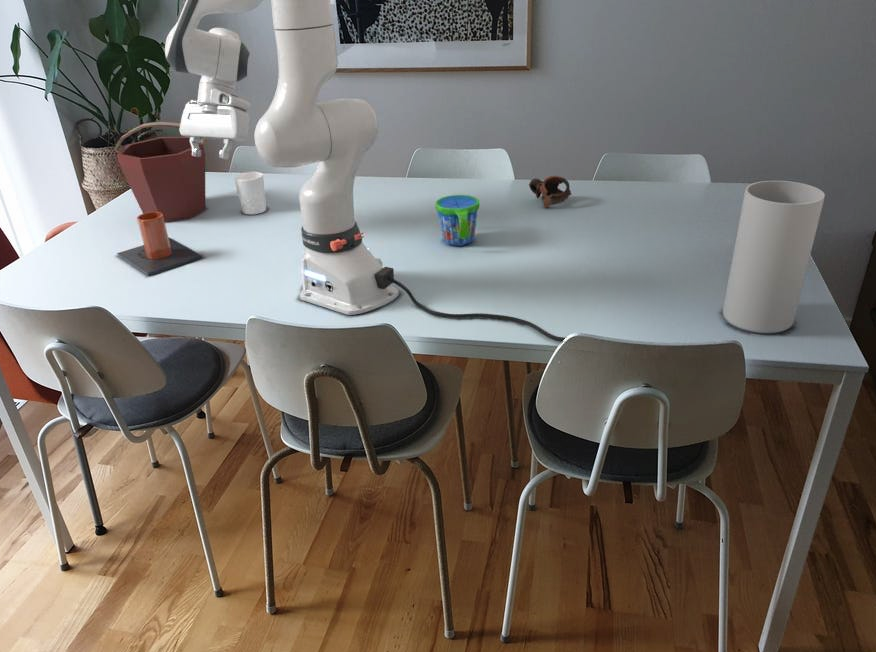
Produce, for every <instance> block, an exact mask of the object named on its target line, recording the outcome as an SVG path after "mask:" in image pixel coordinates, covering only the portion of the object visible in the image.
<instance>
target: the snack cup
mask: <svg viewBox="0 0 876 652" xmlns="http://www.w3.org/2000/svg"><path fill="white" fill-rule="evenodd" d="M480 206H481V205H480V200H479V199H478V198H477V197H475V196H472V195H468V194H452V195H446V196H442V197H441V198H439V199H437V200H436V201H435V210H436V212H437V215H438V221H439V222H438V223H439V226H440V231H441V237H442V240H443V242H445V244H446V245H449V246H457V247H459V246H460V247H462V246H465V245H468V244H470V243H472V242H474V238H475V233H476V226H477V217H478V210H479V209H480Z"/></svg>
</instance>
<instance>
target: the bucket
mask: <svg viewBox="0 0 876 652" xmlns="http://www.w3.org/2000/svg"><path fill="white" fill-rule="evenodd" d="M180 123H181V122H180ZM180 123H179V122H173V121H172V122H171V121H170V122H169V121H156V122H154V121H153V122H148V123H143V124H142V123H141V124H140V125H138V126H136V127H135V128H132V129H131V130H130V131H128V132H127V133H124V134H123V135H122V136H121V137H120V138H119V139H118V141H117V142H116V144H115V146H114V152H116V153H117V154H116V156H117V161H118V164H119V167H120V169H121V171H122V174H123V175H124V177H125V180H126V181H127V184H128V185H129V188H130V190H131V192H132V194H133V196H134V198H135V200H136V203H137V205H138V207H139V208H140V210H141V212H142V214H144V213H148V212H161V213H163V217H164V222H165V223H168V222H174V221H182V220H189V219H191V218H193V217H195V216H197V215H198V214H201V213H202V212H204V211H205V210H206V208H207V207H206V201H207V200H206V153H205V148H204V147H205V145H206V143H207V140H208V139H200V143H198V145H199V150H202V152H201V157H195V156H192V147H191V144H190V138H188V137H185V136H160V137H154V138H151V139H146V140H142V141H138V142H132V143H129V144H126V145H125V146H124V147H123V148H122V147H121V145H122V143H123V142H124V140H125V139H127V138H128V137H130V135H133V134H134V133H136V132H138V131H140V130H142V129H146V128H153V127H164V128H165V127H167V128H174V129H180Z"/></svg>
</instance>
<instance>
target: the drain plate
mask: <svg viewBox="0 0 876 652" xmlns="http://www.w3.org/2000/svg"><path fill="white" fill-rule="evenodd" d="M168 238H169V242H170V246H171V251H172V254H171V255H170V256H168V257H165V258H162V259H149V258H147V255H146V252H145V248H144V244H143V245H138V246H136V247H133V248H132V247H131V248H129V249H126V250H123V251H119V252H117V253H116V254H117V257H119V258H120V259H122V260H123V261H125V262H126V263H128V264H129V265H131V266H132V267H134V268H135V269H137V270H138V271H140V272H141V273H143V274H144V275H146V276H148V277H150V276H153V275H157V274H159V273H162V272H165V271H169V270H172V269H174V268H177V267H180V266H183V265H186V264H189V263H192V262H194V261H198V260H200V259H203V256H202V254H200V253H198V252H196V251H195V250H192V249H191V248H189V247H187V246H185V245H184V244H182V243H180V242H178V241H176V240H175V239H173V238H171V237H169V236H168Z"/></svg>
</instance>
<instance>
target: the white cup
mask: <svg viewBox="0 0 876 652" xmlns="http://www.w3.org/2000/svg"><path fill="white" fill-rule="evenodd" d="M233 178H234V184H235V187H236V193H237V195H238V200H239V203H240V206H241V210H242V213H243V214H245V215H258V214H262V213H264V212H265V211H267V203H266V201H267V198H266V188H265V179H264V174H263V173H262V172H260V171H246V172H242V173H238V174H236V175H235V176H234V177H233Z"/></svg>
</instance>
